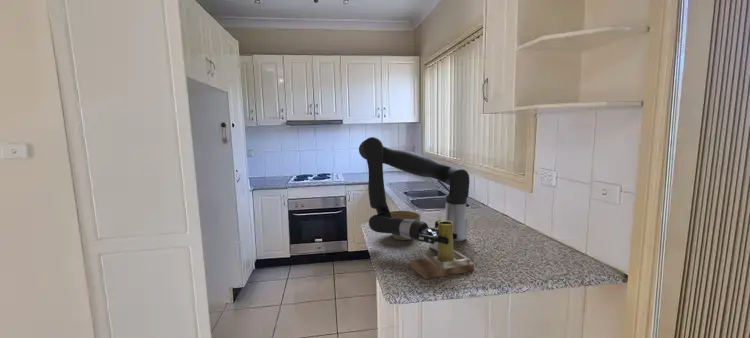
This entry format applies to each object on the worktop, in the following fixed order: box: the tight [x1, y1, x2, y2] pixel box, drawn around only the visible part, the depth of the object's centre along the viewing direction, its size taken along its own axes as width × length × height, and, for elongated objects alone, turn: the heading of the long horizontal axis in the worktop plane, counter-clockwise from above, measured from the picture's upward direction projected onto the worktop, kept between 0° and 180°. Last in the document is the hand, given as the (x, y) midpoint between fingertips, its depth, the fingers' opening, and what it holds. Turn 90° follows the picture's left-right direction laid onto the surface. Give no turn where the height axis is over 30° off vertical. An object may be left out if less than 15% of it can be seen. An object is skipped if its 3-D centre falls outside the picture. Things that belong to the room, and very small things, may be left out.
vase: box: [436, 220, 454, 262], centre depth 124 cm, size 6×6×14 cm
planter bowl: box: [390, 210, 421, 241], centre depth 157 cm, size 16×16×11 cm
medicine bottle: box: [429, 219, 445, 252], centre depth 143 cm, size 7×7×12 cm
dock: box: [410, 248, 475, 280], centre depth 123 cm, size 20×11×4 cm, turn 112°
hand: (452, 238), depth 122 cm, fingers open, 6 cm apart
